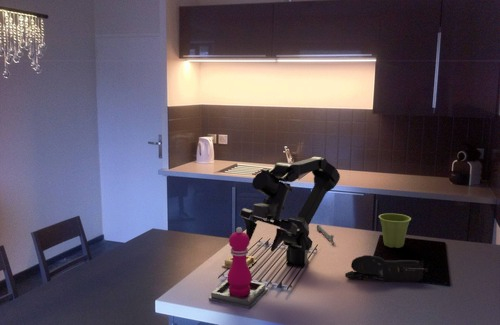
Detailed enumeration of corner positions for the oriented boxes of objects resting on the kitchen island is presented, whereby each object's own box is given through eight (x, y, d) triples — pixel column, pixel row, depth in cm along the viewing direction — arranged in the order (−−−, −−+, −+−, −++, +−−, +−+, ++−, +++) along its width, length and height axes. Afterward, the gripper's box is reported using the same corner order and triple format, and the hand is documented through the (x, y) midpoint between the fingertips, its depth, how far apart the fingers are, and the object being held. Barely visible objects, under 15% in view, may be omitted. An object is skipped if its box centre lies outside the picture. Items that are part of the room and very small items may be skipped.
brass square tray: (256, 261, 158) (256, 256, 157) (245, 271, 149) (245, 265, 149) (233, 257, 161) (233, 252, 161) (222, 266, 153) (222, 260, 153)
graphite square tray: (267, 289, 136) (267, 283, 135) (249, 308, 124) (249, 301, 124) (229, 282, 141) (229, 276, 141) (208, 299, 129) (208, 292, 129)
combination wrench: (316, 222, 193) (332, 236, 173) (319, 222, 193) (335, 236, 174) (316, 231, 193) (331, 246, 174) (319, 231, 194) (335, 245, 174)
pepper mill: (253, 296, 130) (253, 230, 126) (228, 298, 129) (228, 231, 125) (249, 286, 137) (249, 223, 134) (226, 287, 136) (225, 224, 132)
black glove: (426, 284, 141) (429, 260, 140) (348, 284, 140) (349, 259, 139) (417, 275, 148) (419, 252, 146) (342, 275, 147) (344, 251, 145)
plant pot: (412, 243, 176) (414, 215, 174) (405, 252, 166) (406, 223, 164) (382, 238, 182) (383, 211, 180) (373, 246, 172) (374, 218, 170)
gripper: (239, 186, 142) (222, 233, 139) (291, 199, 132) (274, 250, 128) (255, 196, 151) (239, 240, 148) (304, 209, 141) (289, 257, 138)
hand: (259, 246), depth 140 cm, fingers open, 9 cm apart
